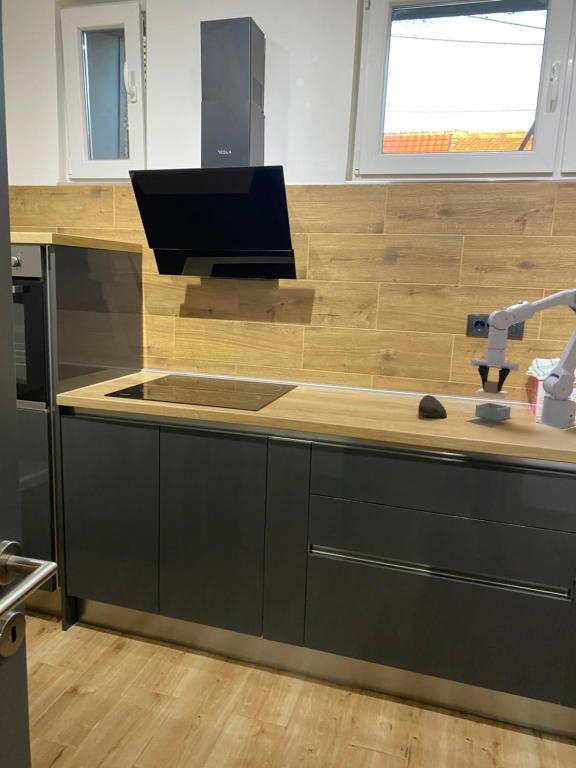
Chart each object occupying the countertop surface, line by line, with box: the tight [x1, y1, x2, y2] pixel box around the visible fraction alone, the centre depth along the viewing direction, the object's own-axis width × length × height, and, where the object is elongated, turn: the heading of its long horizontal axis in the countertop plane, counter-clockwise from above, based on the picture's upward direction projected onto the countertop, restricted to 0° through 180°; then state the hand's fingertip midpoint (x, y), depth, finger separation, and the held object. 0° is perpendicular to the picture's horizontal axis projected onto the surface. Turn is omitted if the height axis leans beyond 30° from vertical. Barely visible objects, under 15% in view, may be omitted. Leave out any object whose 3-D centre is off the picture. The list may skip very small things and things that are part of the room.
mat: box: [466, 417, 507, 428], centre depth 182 cm, size 9×9×1 cm
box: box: [474, 402, 512, 422], centre depth 190 cm, size 8×8×4 cm
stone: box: [417, 395, 448, 419], centre depth 188 cm, size 10×8×10 cm
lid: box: [473, 380, 509, 400], centre depth 184 cm, size 9×9×4 cm
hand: (491, 390), depth 184 cm, fingers closed on lid, 4 cm apart
